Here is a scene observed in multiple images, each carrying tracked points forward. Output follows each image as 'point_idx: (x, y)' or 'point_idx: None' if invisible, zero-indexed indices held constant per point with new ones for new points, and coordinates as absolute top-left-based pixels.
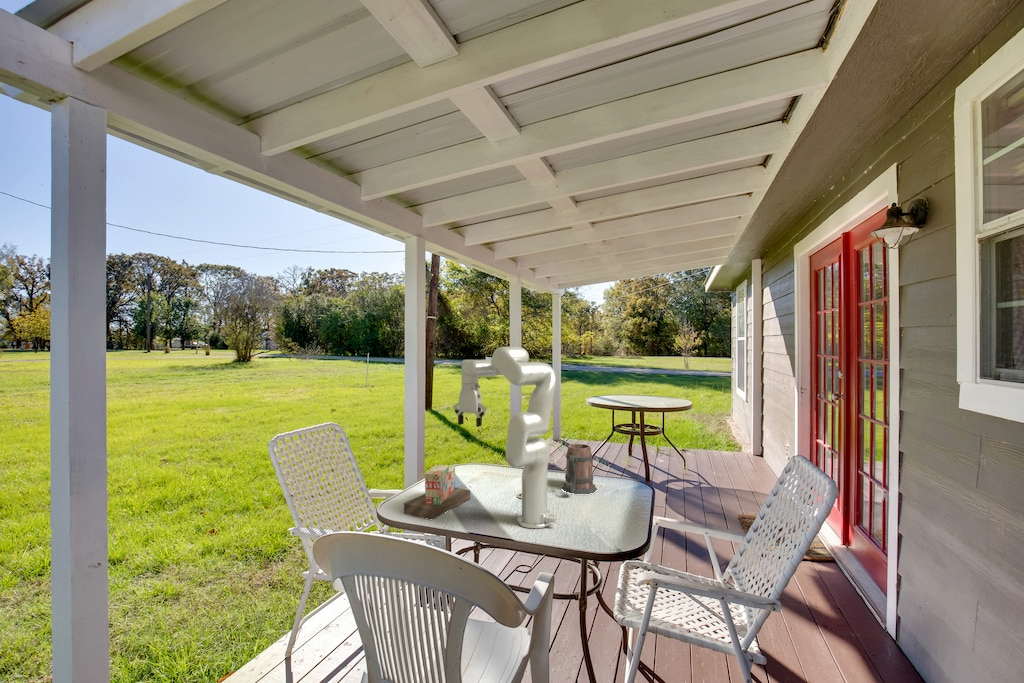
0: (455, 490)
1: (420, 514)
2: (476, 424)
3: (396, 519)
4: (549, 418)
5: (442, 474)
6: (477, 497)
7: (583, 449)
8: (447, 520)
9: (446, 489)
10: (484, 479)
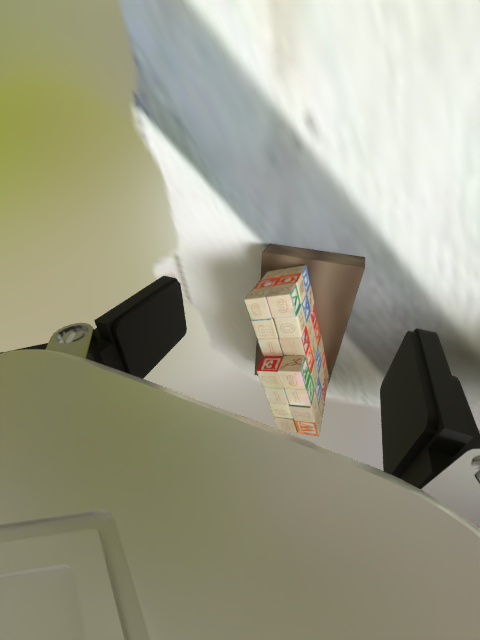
0: (317, 283)
1: None
2: (383, 406)
3: None
4: None
5: (316, 417)
6: (383, 230)
7: None
8: (359, 380)
9: (318, 351)
10: None
